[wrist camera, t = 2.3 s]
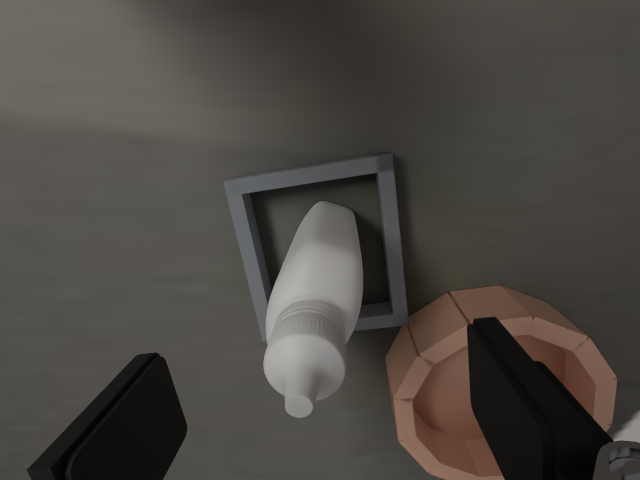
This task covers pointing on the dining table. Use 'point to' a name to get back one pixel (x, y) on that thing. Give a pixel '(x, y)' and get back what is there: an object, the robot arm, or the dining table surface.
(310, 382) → the eye dropper bottle
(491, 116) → the dining table surface
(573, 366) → the bowl
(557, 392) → the robot arm
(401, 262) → the open rectangular frame
